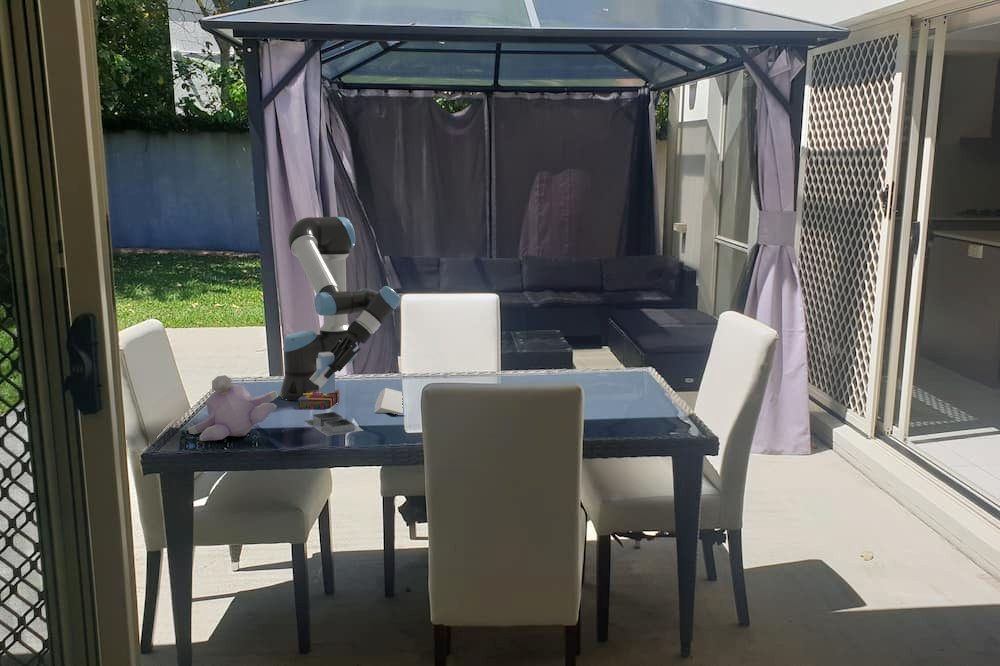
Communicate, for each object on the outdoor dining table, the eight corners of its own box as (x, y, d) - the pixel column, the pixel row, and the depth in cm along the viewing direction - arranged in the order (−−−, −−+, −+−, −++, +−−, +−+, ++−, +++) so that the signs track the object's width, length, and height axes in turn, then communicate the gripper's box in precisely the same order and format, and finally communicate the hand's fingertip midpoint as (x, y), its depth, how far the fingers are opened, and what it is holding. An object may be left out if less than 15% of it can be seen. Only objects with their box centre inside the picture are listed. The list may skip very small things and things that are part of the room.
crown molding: (406, 417, 291) (405, 407, 291) (369, 418, 290) (368, 407, 290) (408, 397, 320) (407, 387, 319) (374, 397, 319) (374, 388, 318)
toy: (192, 435, 283) (202, 466, 256) (170, 388, 277) (178, 415, 251) (276, 398, 292) (294, 424, 265) (256, 352, 286) (273, 374, 260)
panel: (304, 424, 280) (304, 414, 280) (339, 419, 286) (339, 409, 286) (326, 439, 263) (326, 429, 263) (363, 433, 270) (363, 423, 269)
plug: (316, 391, 277) (315, 352, 275) (330, 389, 280) (329, 351, 278) (320, 394, 274) (319, 355, 272) (335, 392, 277) (334, 353, 274)
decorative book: (340, 401, 311) (339, 388, 310) (330, 413, 295) (330, 399, 294) (308, 401, 311) (308, 387, 311) (297, 412, 296) (296, 398, 295)
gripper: (381, 339, 275) (333, 396, 269) (360, 330, 289) (314, 384, 284) (366, 324, 271) (316, 381, 266) (345, 316, 286) (297, 370, 280)
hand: (315, 383), depth 275 cm, fingers closed on plug, 4 cm apart
